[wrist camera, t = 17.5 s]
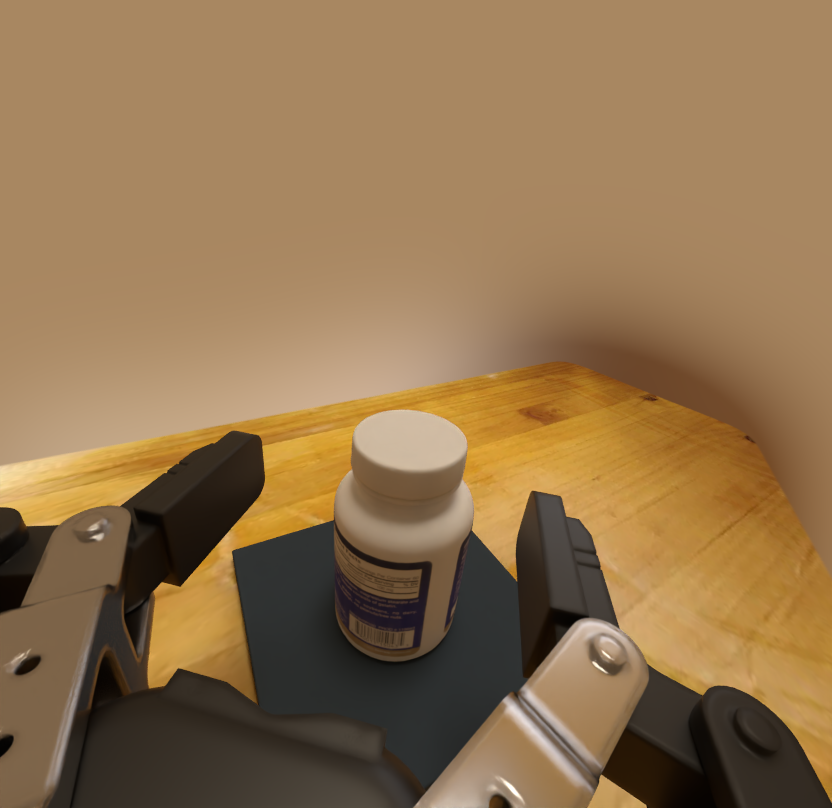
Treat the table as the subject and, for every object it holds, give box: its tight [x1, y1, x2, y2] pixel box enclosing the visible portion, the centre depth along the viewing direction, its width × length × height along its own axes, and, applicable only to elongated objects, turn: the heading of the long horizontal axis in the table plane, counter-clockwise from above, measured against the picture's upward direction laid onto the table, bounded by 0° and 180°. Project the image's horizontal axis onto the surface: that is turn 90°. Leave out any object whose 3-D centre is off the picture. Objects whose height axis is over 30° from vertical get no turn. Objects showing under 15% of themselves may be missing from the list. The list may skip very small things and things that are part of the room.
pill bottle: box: [334, 410, 474, 662], centre depth 15 cm, size 5×5×9 cm
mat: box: [232, 520, 528, 792], centre depth 17 cm, size 12×12×1 cm
